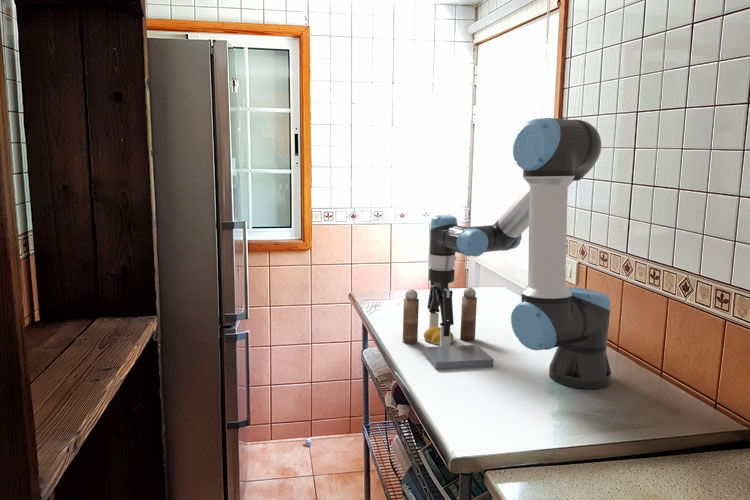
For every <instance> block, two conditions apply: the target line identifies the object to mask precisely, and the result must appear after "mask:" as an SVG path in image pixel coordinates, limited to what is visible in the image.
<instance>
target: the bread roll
mask: <svg viewBox="0 0 750 500" xmlns="http://www.w3.org/2000/svg"><path fill="white" fill-rule="evenodd" d="M440 332H441V326H440V327H439V326H438V327H431V328H429V327H428V329H427V330H425V332H423V337H424V341H426V342H428V343H431V344H433V345H436V346H437V345H438V346H440ZM454 337H455V336H454V334H453V333H452V331H450V345H451V344H452V343H453V342H454V340H455V339H454Z"/></svg>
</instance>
